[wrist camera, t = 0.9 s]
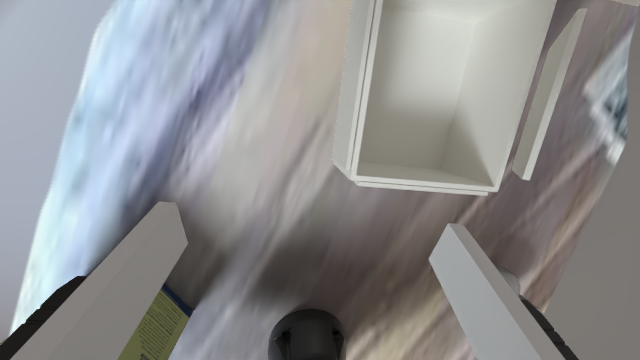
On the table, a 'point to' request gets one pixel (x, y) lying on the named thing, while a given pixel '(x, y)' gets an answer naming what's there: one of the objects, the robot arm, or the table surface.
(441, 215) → the table surface
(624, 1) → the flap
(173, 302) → the protein box
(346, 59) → the carton
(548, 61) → the side flap
